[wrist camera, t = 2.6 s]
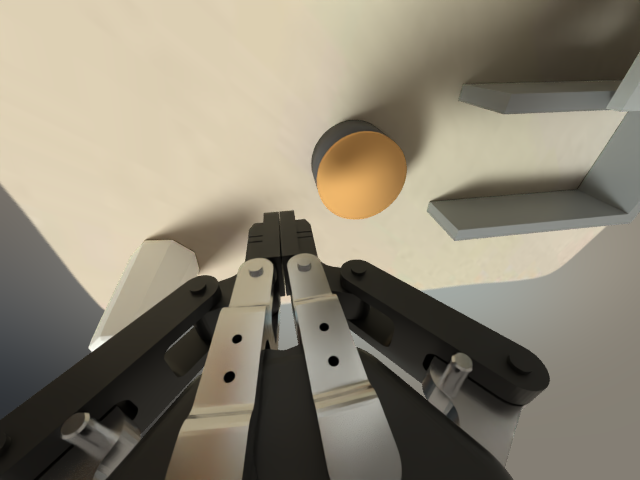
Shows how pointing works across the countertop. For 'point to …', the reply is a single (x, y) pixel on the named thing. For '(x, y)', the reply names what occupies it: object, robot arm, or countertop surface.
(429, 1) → the countertop surface
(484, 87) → the grey u-shaped frame
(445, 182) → the countertop surface
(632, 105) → the cover
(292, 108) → the countertop surface
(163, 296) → the pepper shaker
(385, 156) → the puck
